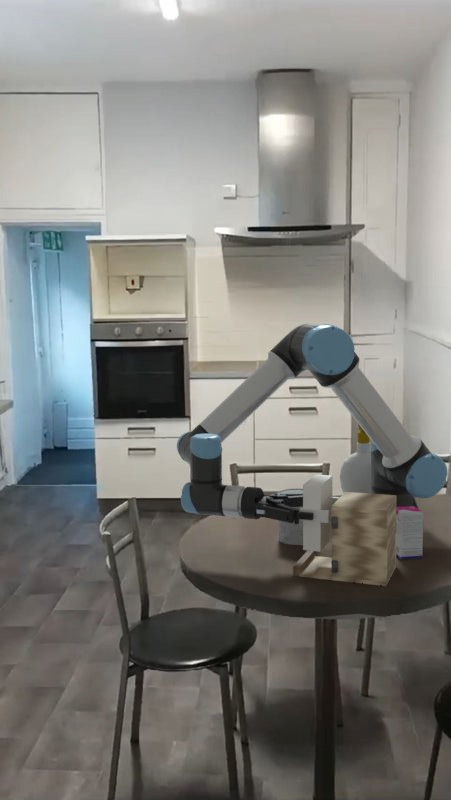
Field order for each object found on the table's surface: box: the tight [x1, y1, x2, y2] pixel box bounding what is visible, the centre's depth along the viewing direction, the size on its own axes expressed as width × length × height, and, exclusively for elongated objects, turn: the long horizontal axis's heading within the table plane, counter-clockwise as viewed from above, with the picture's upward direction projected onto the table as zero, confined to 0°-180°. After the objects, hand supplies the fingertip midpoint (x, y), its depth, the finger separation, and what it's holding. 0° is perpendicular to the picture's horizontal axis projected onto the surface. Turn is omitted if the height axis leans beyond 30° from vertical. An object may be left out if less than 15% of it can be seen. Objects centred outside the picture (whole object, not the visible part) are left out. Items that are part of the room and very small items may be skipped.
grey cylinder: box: [277, 488, 303, 546], centre depth 209 cm, size 10×10×12 cm
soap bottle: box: [339, 423, 372, 494], centre depth 241 cm, size 14×9×26 cm, turn 70°
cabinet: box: [292, 492, 397, 587], centre depth 183 cm, size 21×14×17 cm
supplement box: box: [396, 506, 424, 560], centre depth 195 cm, size 6×6×12 cm
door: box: [302, 473, 333, 553], centre depth 186 cm, size 5×11×15 cm, turn 159°
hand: (335, 510), depth 184 cm, fingers closed on door, 11 cm apart
